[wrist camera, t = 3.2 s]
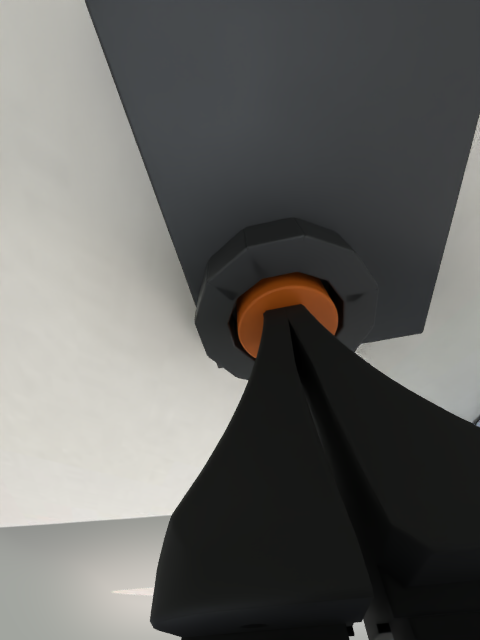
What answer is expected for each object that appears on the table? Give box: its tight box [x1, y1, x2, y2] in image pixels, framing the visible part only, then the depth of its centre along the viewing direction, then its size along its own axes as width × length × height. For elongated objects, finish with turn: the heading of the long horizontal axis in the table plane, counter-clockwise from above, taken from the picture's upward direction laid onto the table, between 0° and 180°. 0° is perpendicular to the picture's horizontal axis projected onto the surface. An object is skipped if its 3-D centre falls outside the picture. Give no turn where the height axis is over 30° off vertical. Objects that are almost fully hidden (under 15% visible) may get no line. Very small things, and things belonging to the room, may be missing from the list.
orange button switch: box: [85, 0, 480, 380], centre depth 9 cm, size 13×10×3 cm
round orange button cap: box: [236, 272, 338, 358], centre depth 10 cm, size 4×4×2 cm
